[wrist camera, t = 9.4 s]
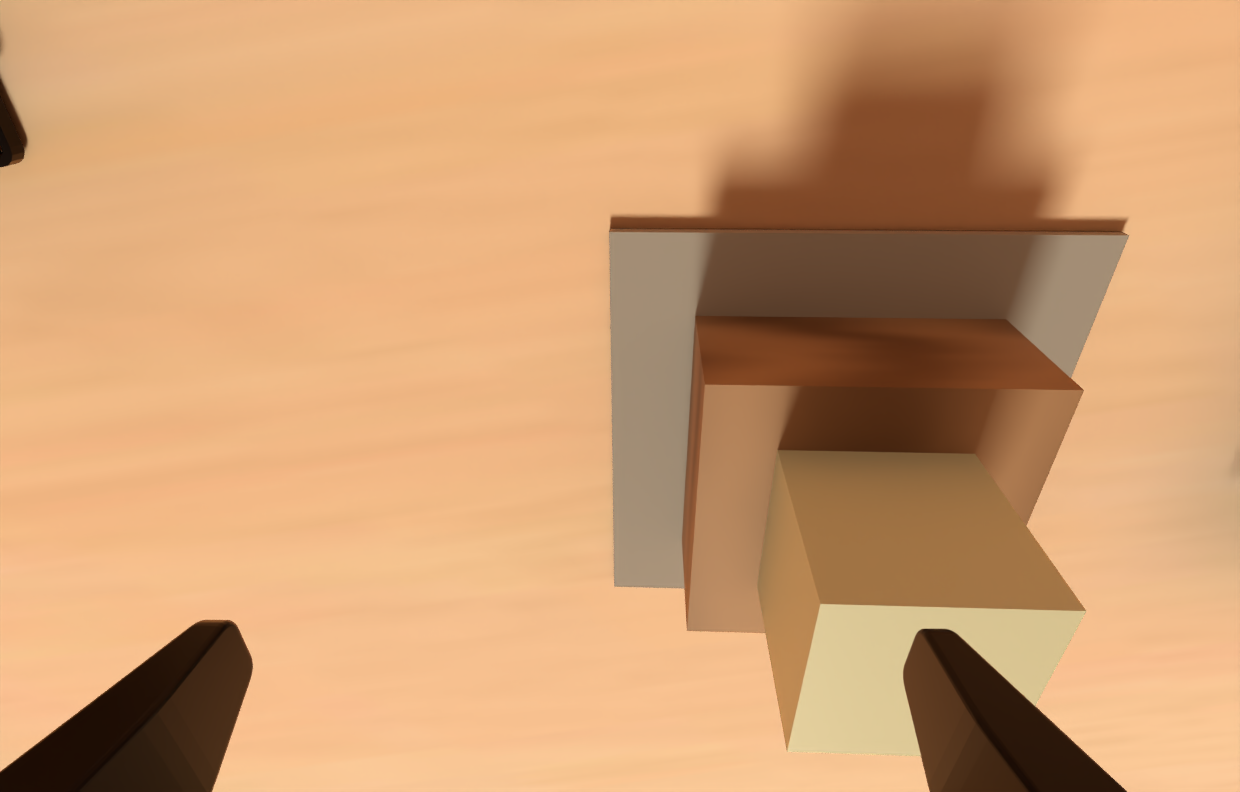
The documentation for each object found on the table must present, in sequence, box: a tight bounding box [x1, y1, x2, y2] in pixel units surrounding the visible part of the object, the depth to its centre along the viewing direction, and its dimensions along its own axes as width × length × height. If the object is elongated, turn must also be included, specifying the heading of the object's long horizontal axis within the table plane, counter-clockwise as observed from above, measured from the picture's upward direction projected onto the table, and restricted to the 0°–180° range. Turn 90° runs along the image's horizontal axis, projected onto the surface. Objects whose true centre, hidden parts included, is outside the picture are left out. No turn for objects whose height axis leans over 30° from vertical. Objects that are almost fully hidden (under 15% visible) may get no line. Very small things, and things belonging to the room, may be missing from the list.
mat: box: [609, 229, 1129, 588], centre depth 22 cm, size 14×14×1 cm
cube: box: [757, 450, 1086, 756], centre depth 16 cm, size 5×5×5 cm
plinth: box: [682, 316, 1084, 633], centre depth 20 cm, size 9×9×4 cm
